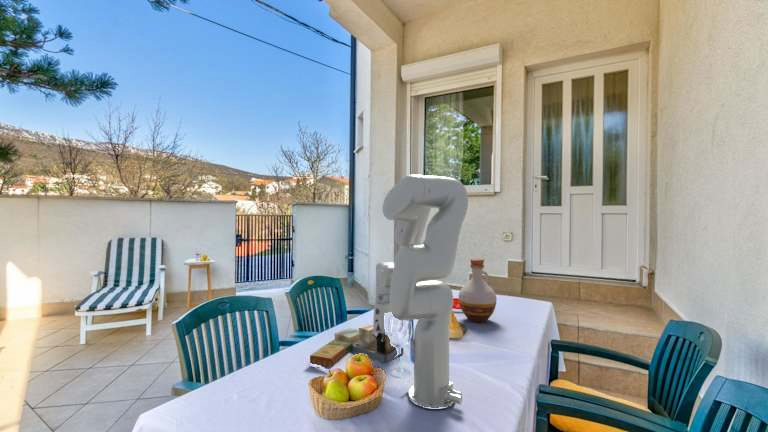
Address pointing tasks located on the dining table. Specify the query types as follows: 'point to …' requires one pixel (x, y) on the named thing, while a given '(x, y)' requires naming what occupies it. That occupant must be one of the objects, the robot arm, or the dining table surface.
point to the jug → (477, 294)
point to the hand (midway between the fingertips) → (386, 349)
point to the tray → (374, 353)
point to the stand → (348, 335)
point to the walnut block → (386, 346)
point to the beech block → (367, 337)
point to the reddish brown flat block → (331, 353)
